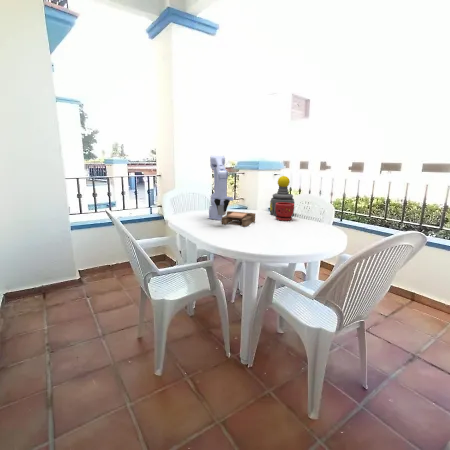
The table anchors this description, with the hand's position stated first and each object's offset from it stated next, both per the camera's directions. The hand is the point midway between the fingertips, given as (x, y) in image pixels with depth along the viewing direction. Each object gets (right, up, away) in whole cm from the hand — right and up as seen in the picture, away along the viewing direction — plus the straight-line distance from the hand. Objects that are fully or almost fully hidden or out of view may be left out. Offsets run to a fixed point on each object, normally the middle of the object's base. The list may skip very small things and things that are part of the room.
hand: (221, 211), depth 175 cm
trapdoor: (+10, -3, +9) cm, 14 cm away
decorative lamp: (+47, -1, +41) cm, 62 cm away
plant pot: (+45, -5, +23) cm, 50 cm away
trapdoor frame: (+10, -8, +10) cm, 16 cm away
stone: (0, -2, 0) cm, 2 cm away
